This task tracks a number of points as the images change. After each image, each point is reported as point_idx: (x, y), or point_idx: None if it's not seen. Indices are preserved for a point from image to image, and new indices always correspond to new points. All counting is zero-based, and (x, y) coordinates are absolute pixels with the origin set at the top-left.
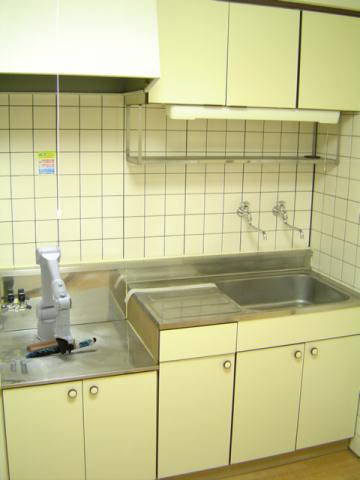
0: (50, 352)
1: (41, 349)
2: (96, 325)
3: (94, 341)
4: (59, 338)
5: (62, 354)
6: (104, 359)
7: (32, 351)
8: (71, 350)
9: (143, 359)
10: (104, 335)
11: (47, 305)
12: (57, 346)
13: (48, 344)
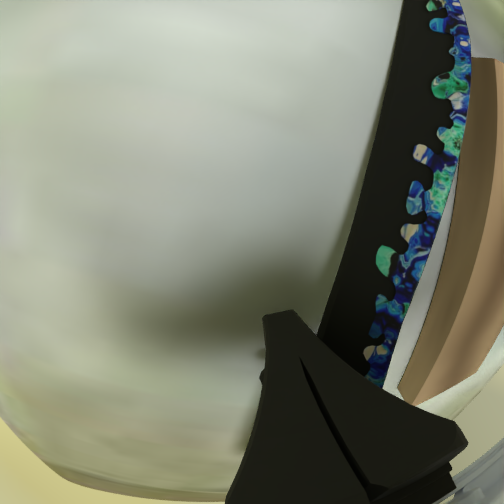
0: (384, 207)
1: (486, 152)
2: None
3: None
4: (402, 487)
5: (262, 319)
6: (118, 451)
7: (490, 62)
8: None
9: (103, 486)
10: None
11: None
12: (394, 333)
13: (500, 248)
